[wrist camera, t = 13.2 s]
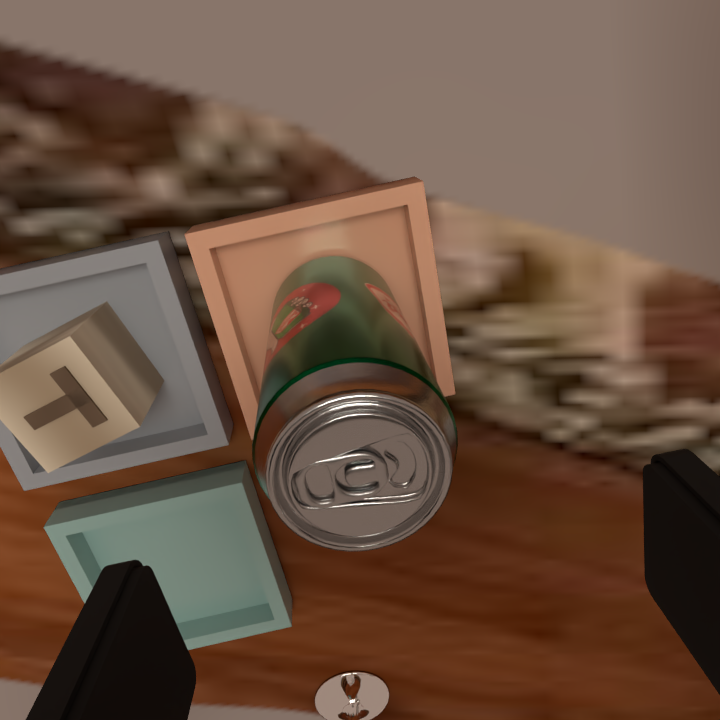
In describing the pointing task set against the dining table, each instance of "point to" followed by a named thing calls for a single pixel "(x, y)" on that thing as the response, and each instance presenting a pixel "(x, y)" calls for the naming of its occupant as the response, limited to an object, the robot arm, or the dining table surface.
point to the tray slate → (147, 326)
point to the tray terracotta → (312, 241)
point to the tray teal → (184, 550)
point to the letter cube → (77, 388)
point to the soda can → (349, 412)
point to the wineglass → (352, 696)
